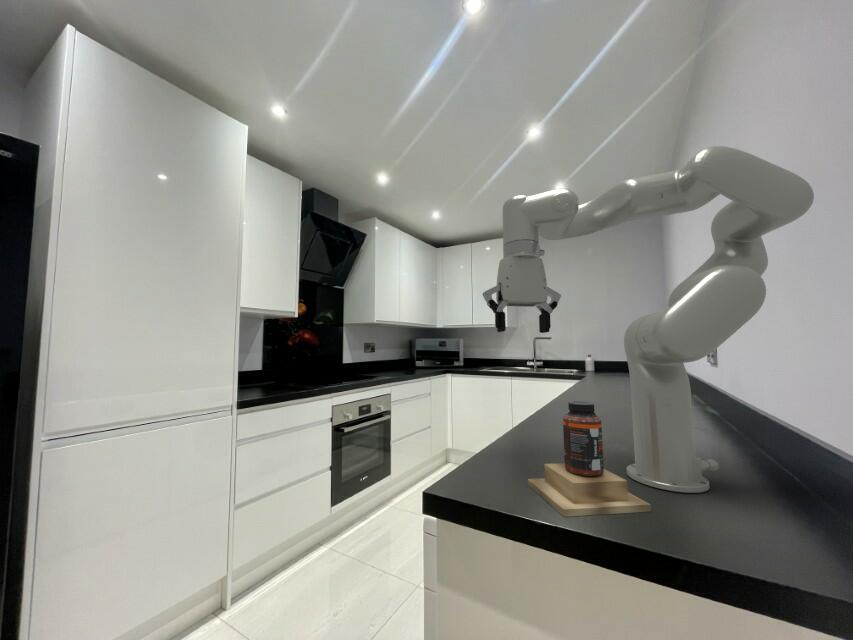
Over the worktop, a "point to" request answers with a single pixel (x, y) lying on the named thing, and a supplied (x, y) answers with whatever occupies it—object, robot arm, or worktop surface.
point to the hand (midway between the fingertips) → (523, 332)
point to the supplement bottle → (583, 440)
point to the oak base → (586, 507)
